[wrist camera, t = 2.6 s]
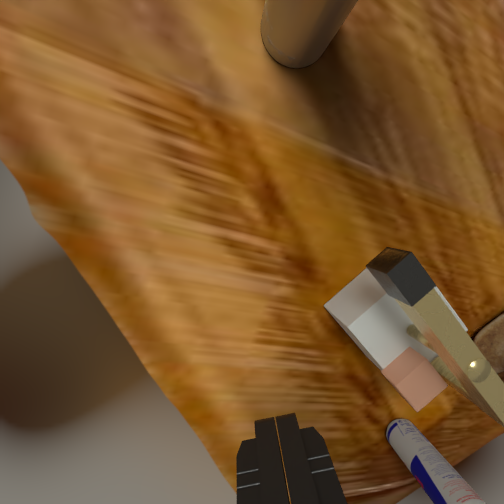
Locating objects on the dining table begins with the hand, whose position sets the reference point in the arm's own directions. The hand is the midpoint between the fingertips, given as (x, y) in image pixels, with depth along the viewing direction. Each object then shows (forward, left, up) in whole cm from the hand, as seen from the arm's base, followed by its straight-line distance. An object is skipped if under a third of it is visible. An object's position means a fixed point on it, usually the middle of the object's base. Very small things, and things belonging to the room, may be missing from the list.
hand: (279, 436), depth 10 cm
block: (-2, +25, -22) cm, 34 cm away
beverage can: (+8, +39, -30) cm, 50 cm away
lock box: (-7, +22, -30) cm, 38 cm away
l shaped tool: (-8, +19, -22) cm, 30 cm away
